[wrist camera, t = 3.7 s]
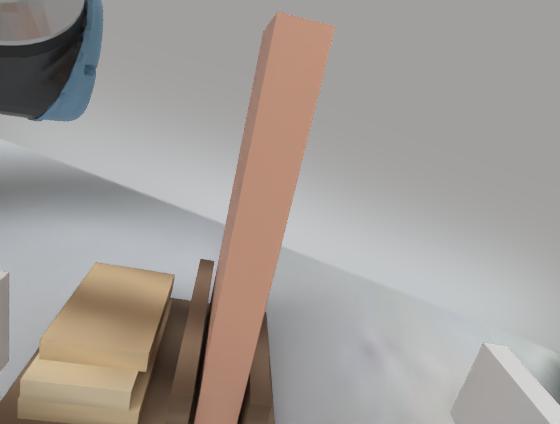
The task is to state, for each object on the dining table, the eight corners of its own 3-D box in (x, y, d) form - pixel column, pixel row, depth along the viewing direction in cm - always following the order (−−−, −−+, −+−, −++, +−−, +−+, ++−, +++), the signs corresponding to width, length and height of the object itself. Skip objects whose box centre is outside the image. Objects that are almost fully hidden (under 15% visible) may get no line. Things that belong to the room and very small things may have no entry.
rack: (82, 301, 31) (86, 237, 30) (262, 327, 33) (277, 268, 32) (-36, 477, 18) (-40, 380, 16) (272, 501, 20) (298, 417, 19)
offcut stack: (90, 302, 29) (94, 257, 28) (170, 313, 30) (177, 270, 29) (17, 418, 20) (18, 358, 19) (136, 429, 21) (144, 373, 19)
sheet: (208, 311, 31) (263, 31, 25) (234, 314, 32) (295, 39, 25) (188, 453, 20) (277, 11, 14) (228, 456, 20) (335, 26, 14)
